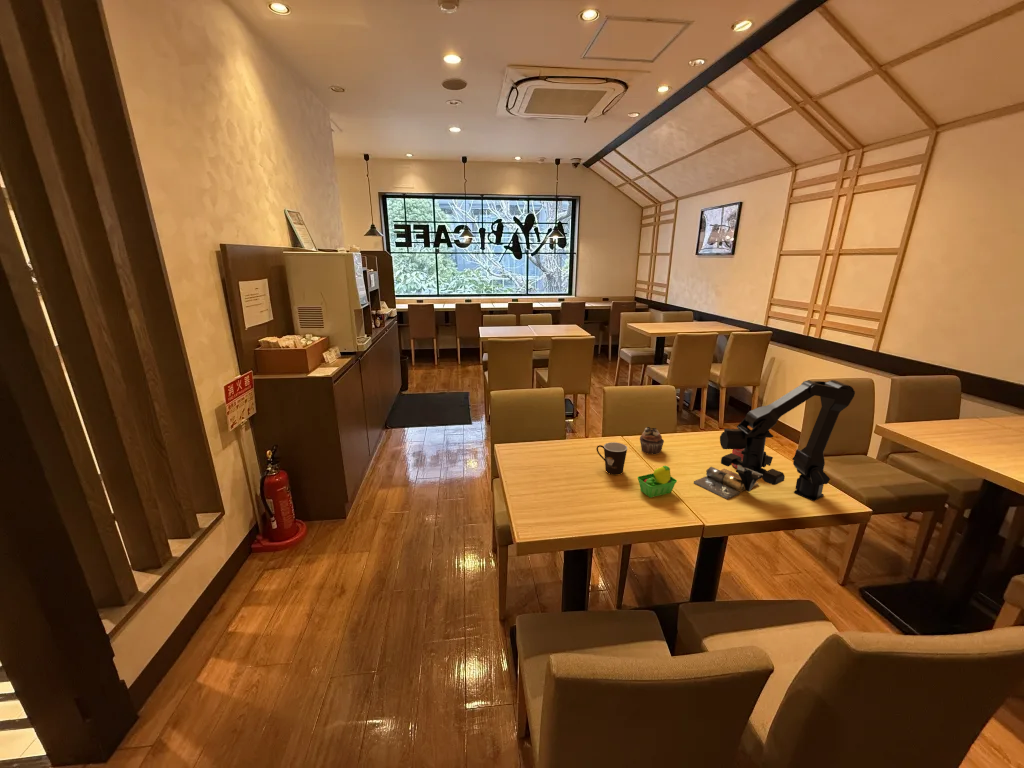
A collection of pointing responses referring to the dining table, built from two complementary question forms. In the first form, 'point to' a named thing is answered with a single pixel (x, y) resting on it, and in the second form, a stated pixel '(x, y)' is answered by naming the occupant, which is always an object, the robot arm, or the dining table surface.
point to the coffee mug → (614, 457)
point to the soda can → (738, 453)
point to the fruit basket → (657, 482)
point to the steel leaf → (716, 483)
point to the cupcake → (651, 441)
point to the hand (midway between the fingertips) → (748, 491)
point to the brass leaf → (734, 480)
